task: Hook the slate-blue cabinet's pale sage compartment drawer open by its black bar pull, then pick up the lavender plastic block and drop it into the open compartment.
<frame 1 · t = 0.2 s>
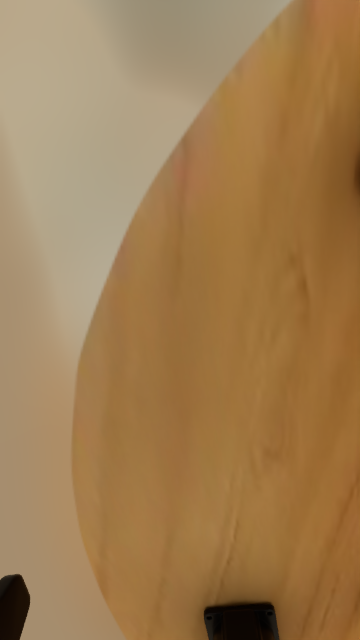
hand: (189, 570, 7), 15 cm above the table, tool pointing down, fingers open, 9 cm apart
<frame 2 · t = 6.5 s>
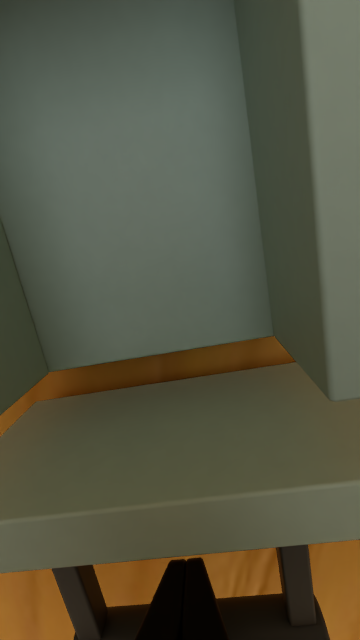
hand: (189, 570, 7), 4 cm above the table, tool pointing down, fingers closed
drawer: (133, 297, 7), point 3 cm above the table, slide at 9.5 cm
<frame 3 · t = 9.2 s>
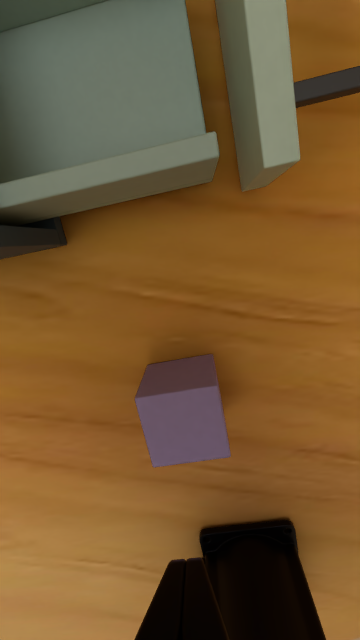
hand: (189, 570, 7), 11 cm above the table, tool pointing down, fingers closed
drawer: (147, 69, 11), point 3 cm above the table, slide at 9.5 cm
block: (186, 388, 18), on the table
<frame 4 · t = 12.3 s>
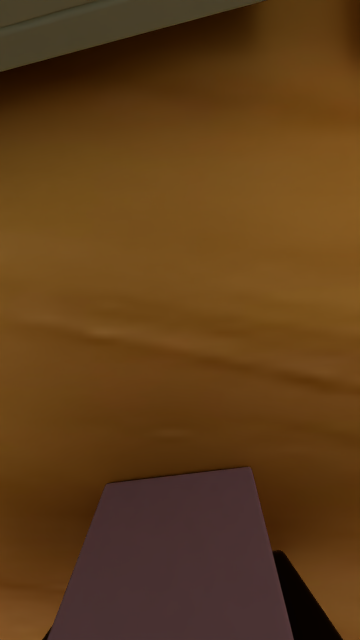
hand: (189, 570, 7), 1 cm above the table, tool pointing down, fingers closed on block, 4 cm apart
block: (189, 532, 8), on the table, touching gripper
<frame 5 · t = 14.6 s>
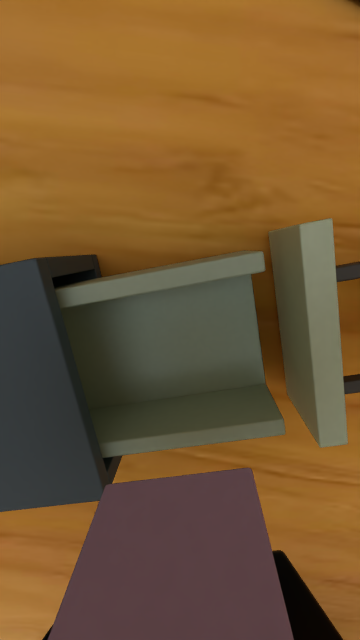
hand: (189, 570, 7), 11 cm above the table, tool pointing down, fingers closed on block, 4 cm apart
drawer: (224, 340, 14), point 3 cm above the table, slide at 9.5 cm
cabinet: (7, 359, 19), on the table
block: (189, 533, 8), point 10 cm above the table, touching gripper
when the fingers open (5 cm above the table, at t = 16.9 s): block drops 2 cm, resting on drawer.
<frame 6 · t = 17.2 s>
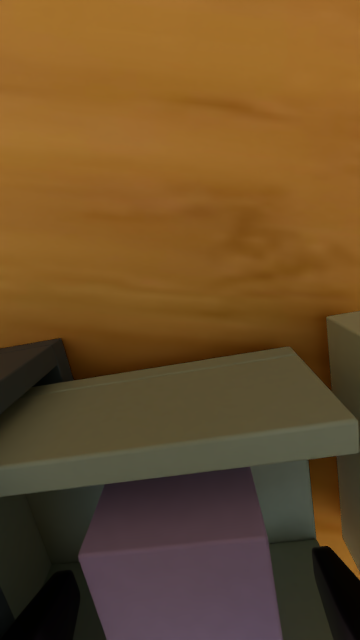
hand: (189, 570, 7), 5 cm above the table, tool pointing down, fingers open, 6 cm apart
drawer: (260, 502, 9), point 3 cm above the table, slide at 9.5 cm, touching block
block: (190, 478, 10), point 2 cm above the table, touching drawer
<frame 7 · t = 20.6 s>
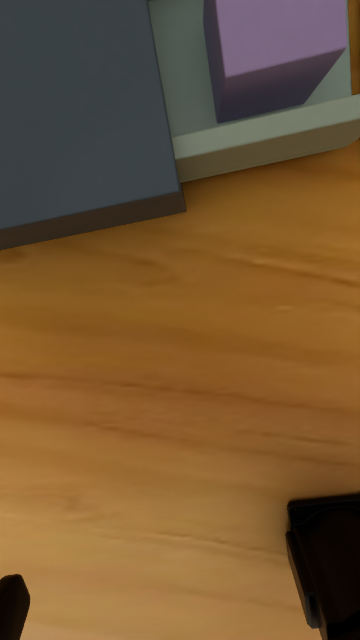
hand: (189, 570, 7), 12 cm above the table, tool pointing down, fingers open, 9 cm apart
drawer: (316, 30, 12), point 3 cm above the table, slide at 9.5 cm, touching block
cabinet: (37, 138, 16), on the table
block: (254, 64, 13), point 2 cm above the table, touching drawer
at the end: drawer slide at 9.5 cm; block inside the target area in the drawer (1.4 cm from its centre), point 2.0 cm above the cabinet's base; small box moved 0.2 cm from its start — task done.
